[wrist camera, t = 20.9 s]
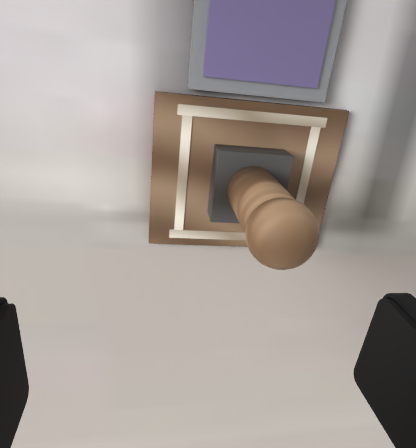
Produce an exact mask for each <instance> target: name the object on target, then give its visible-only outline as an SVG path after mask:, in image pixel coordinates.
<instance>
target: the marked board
mask: <svg viewBox="0 0 416 448" xmlns="http://www.w3.org/2000/svg"><path fill="white" fill-rule="evenodd" d="M348 114H349V111H347V110H341V109H331V108H321V107H311V106H300V105H290V104H280V103H270V102H260V101H249V100H239V99H229V98H219V97H209V96H198V95H188V94H178V93H168V92H158V91H155V102H154V126H153V151H152V176H151V201H150V225H149V243H154V244H184V245H214V246H244V247H248V246H247V243H246V237H245V233H244V231H243V229H242V227H241V225H240V223H218V222H211V221H210V218H209V215H208V212H207V209H208V200H209V190H210V181H211V172H212V163H213V154H214V145H215V144H223V145H235V146H248V147H261V148H274V149H284V150H286V151H287V152H289V153H290V154H291V155H293V156H294V157H293V162H292V167H291V172H290V177H289V182H288V187H287V191H288V192H289V194H290V195H291V196H292V197H293V198H294V199H295V200H297V201H299V202H301V203H302V204H304V205H305V206H306V207H308V208H309V210H310V211H311V212H312V213H313V215H314V216H315V219H316V221H317V223H318V228H319V229H320V225H321V221H322V218H323V214H324V210H325V206H326V202H327V198H328V194H329V190H330V186H331V182H332V178H333V174H334V170H335V166H336V162H337V158H338V154H339V150H340V146H341V142H342V138H343V134H344V130H345V126H346V122H347V118H348Z"/></svg>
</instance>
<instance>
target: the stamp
mask: <svg viewBox="0 0 416 448" xmlns="http://www.w3.org/2000/svg"><path fill="white" fill-rule="evenodd" d="M293 157H294V156H293V155H291V154H290V153H289V152H287V151H286V150H284V149H274V148H261V147H248V146H235V145H223V144H215V145H214V154H213V163H212V172H211V181H210V190H209V200H208V209H207V212H208V215H209V218H210V221H211V222H218V223H240V225H241V227H242V229H243V231H244V233H245V237H246V243H247V246H248V248H249V250H250V252H251V254H252V255H253V256H254V257H255V258H256V259H257V260H258V261H259V262H260V263H262V264H263V265H265V266H267V267H270V268H273V269H278V270H286V269H292V268H295V267H298V266H300V265H301V264H303V263H304V262H306V261H307V260H308V259H309V258H310V257H311V256H312V254H313V253H314V251H315V249H316V247H317V244H318V239H319V228H318V223H317V221H316V219H315V216H314V215H313V213H312V212H311V211H310V210H309V208H308V207H306V206H305V205H304V204H302V203H301V202H299V201H297V200H295V199H294V198H293V197H292V196H291V195H290V194H289V192H288V191H287V187H288V182H289V177H290V172H291V167H292V162H293Z"/></svg>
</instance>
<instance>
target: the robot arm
mask: <svg viewBox="0 0 416 448" xmlns="http://www.w3.org/2000/svg"><path fill="white" fill-rule="evenodd" d="M354 379H355V382H356V384H357V385H358V387H359V389H360V390H361V392H362V394H363V395H364V397H365V399H366V400H367V402H368V403H369V405H370V407H371V408H372V410H373V412H374V413H375V415H376V416H377V418H378V420H379V421H380V423H381V425H382V426H383V428H384V430H385V431H386V433H387V434H388V436H389V438H390V439H391V441H392V443H393V444H394V446H395V448H416V298H415V297H414V296H412V295H411V294H408V293H389V294H386V295H385V296H384V297H383V299H381V300H379V302H378V304H377V307H376V310H375V312H374V315H373V318H372V321H371V323H370V326H369V329H368V332H367V335H366V337H365V340H364V343H363V346H362V349H361V351H360V354H359V357H358V360H357V362H356V365H355V368H354ZM28 392H29V384H28V378H27V372H26V366H25V360H24V354H23V348H22V342H21V336H20V330H19V324H18V318H17V312H16V307H15V305H14V304H8V302H7V300H6V298H3V297H0V448H11V445H12V442H13V439H14V436H15V433H16V431H17V428H18V425H19V422H20V419H21V416H22V413H23V411H24V408H25V405H26V402H27V398H28Z"/></svg>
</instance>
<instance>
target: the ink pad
mask: <svg viewBox="0 0 416 448" xmlns="http://www.w3.org/2000/svg"><path fill="white" fill-rule="evenodd" d="M346 4H347V0H194V5H193V18H192V31H191V45H190V58H189V72H188V85H187V88H188V89H195V90H205V91H215V92H224V93H234V94H244V95H254V96H264V97H274V98H284V99H294V100H304V101H314V102H324V103H325V98H326V94H327V89H328V85H329V80H330V76H331V71H332V67H333V62H334V58H335V53H336V49H337V44H338V40H339V36H340V31H341V27H342V22H343V18H344V13H345V9H346Z"/></svg>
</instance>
